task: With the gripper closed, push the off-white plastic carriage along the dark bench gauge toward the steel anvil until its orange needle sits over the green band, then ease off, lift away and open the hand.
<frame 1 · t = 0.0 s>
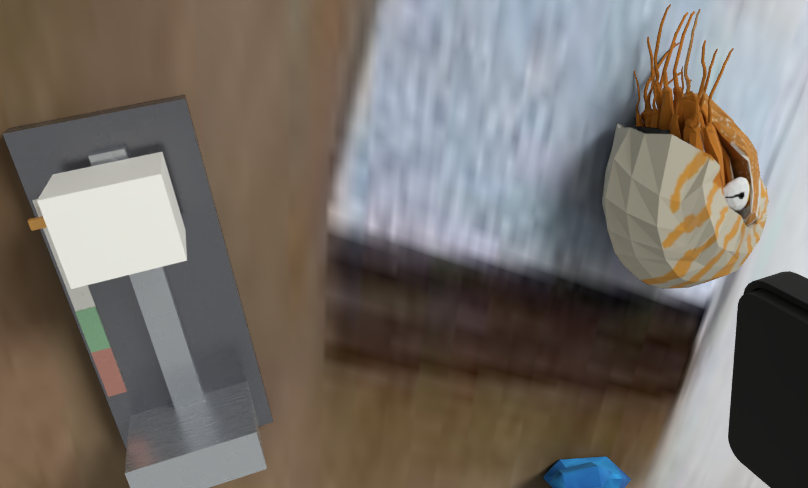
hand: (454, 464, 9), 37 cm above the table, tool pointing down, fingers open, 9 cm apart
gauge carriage: (100, 221, 37), point 5 cm above the table, slide at 0.0 cm
nautilus: (657, 145, 53), on the table
gauge bench: (157, 288, 45), on the table
blue double-lobed piece: (579, 469, 64), on the table
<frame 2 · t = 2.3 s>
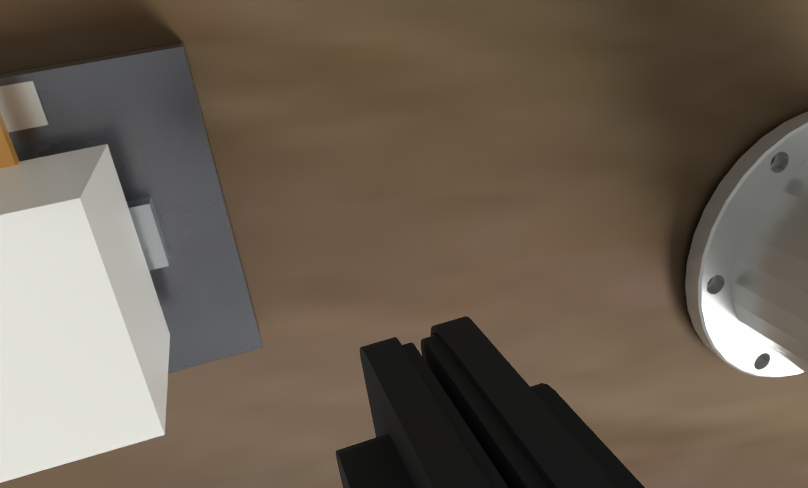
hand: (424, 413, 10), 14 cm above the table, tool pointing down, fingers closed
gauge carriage: (13, 269, 16), point 5 cm above the table, slide at 0.0 cm
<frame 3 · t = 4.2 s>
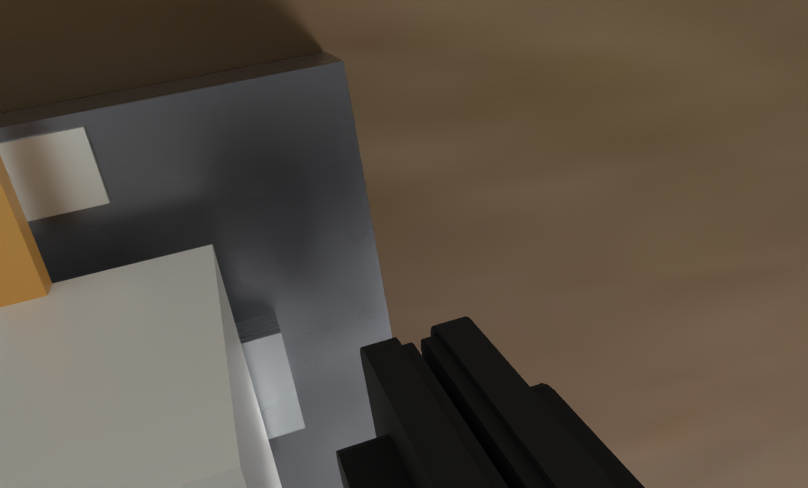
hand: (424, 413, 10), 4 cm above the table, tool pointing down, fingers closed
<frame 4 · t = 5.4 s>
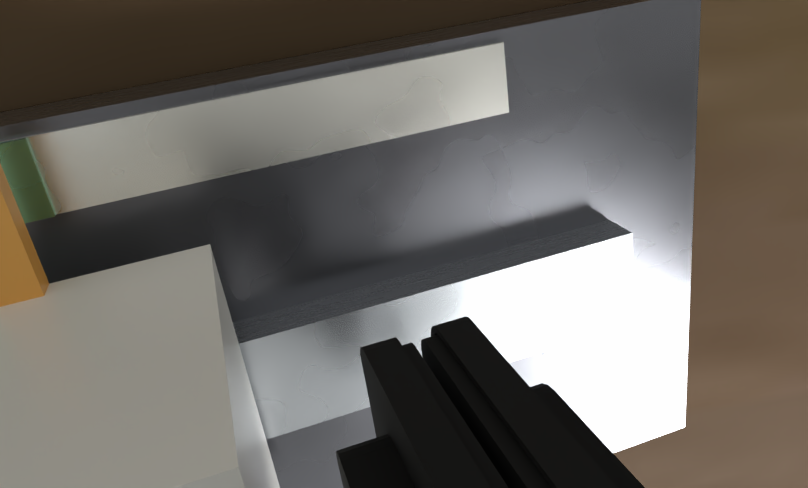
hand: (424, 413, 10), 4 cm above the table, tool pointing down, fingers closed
gauge bench: (108, 367, 13), on the table
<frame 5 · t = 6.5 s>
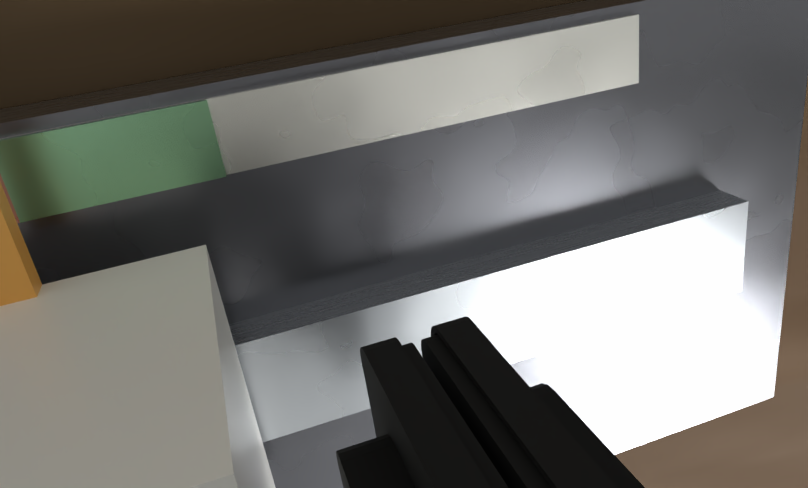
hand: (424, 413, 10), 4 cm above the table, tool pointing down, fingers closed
gauge bench: (240, 331, 13), on the table
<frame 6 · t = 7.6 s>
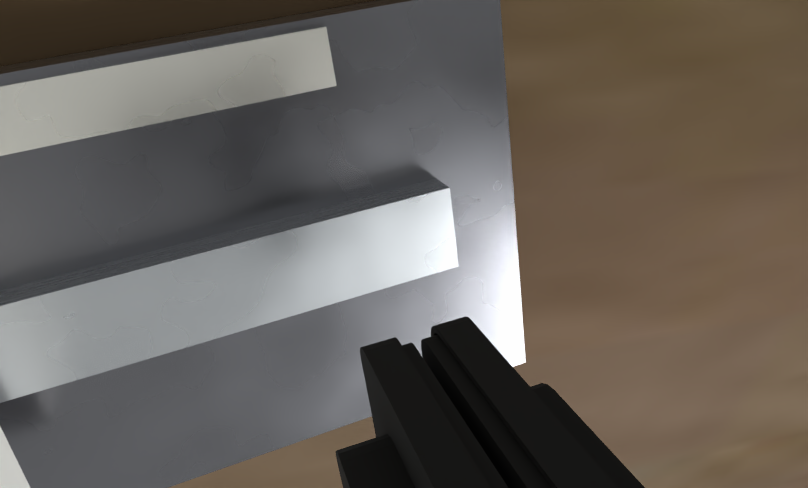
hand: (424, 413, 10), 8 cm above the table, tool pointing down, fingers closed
gauge bench: (2, 308, 15), on the table
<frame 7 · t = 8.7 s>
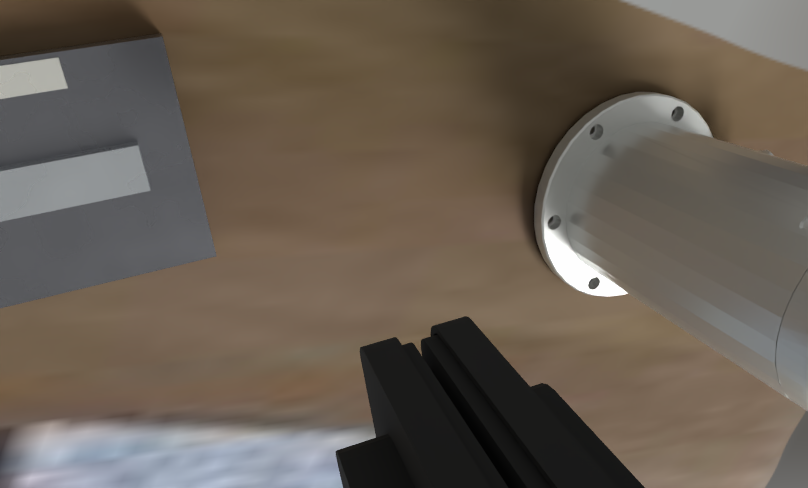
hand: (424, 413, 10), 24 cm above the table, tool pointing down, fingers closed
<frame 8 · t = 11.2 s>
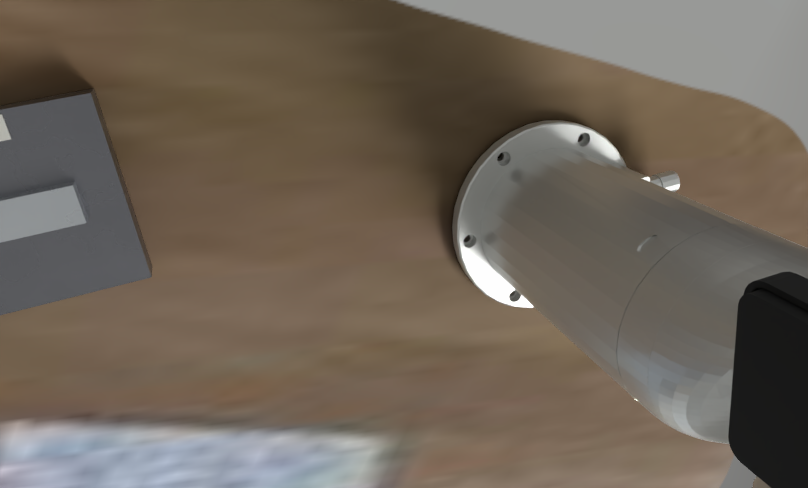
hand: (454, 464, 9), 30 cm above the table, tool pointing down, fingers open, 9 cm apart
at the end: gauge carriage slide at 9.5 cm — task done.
